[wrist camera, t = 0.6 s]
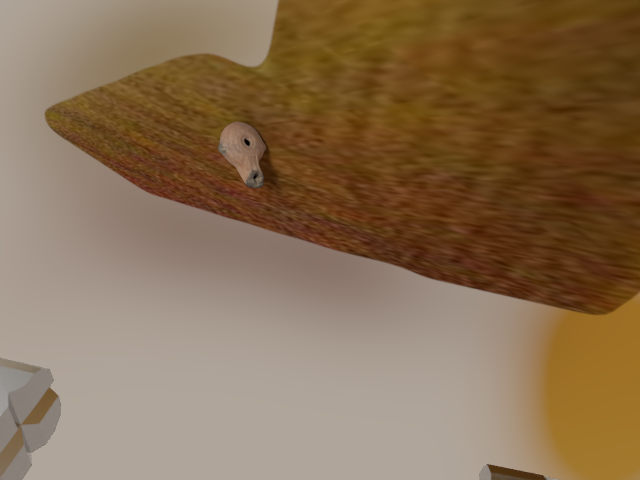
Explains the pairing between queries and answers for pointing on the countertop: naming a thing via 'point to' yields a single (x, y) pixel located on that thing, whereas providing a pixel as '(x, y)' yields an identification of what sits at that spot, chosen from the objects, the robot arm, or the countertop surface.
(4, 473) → the robot arm
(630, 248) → the countertop surface
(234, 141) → the oil lamp
